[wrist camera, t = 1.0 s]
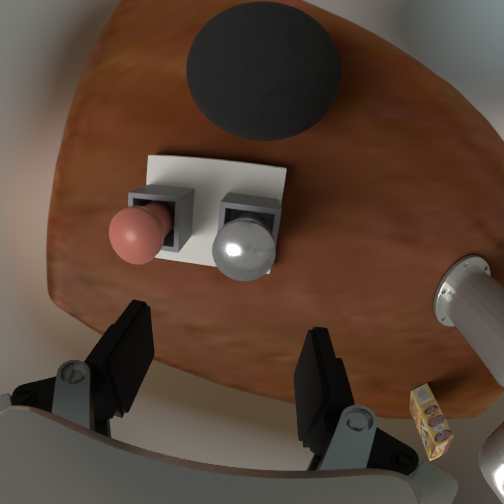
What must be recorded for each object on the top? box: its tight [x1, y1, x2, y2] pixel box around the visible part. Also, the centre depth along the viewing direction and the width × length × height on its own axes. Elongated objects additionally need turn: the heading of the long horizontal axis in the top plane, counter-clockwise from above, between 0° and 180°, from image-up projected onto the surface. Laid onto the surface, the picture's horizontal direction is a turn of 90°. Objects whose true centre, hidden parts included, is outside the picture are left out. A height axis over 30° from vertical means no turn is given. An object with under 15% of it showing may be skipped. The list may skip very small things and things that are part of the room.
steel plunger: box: [212, 211, 276, 281], centre depth 23 cm, size 5×5×6 cm
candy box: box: [410, 383, 454, 461], centre depth 36 cm, size 9×4×15 cm, turn 23°
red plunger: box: [109, 200, 175, 264], centre depth 23 cm, size 5×5×6 cm
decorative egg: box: [187, 2, 341, 141], centre depth 19 cm, size 12×12×15 cm
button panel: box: [128, 154, 287, 274], centre depth 28 cm, size 15×12×7 cm
